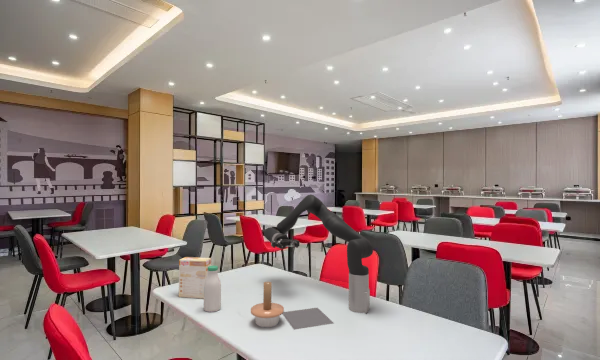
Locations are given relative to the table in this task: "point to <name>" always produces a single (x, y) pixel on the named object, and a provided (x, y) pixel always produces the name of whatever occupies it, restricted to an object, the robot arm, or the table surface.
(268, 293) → the lid
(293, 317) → the mat
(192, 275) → the coffeecake box
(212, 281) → the milk bottle
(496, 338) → the table surface
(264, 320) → the ramekin
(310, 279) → the table surface
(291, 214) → the robot arm
